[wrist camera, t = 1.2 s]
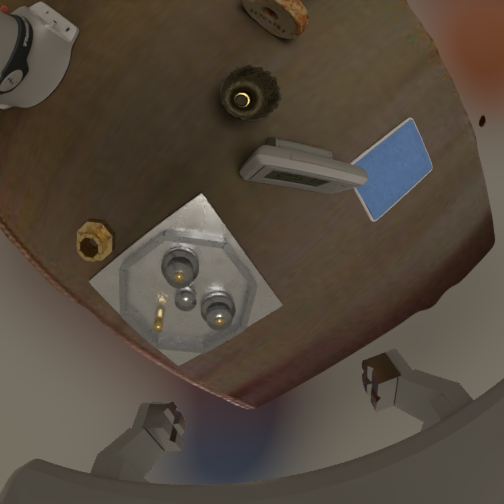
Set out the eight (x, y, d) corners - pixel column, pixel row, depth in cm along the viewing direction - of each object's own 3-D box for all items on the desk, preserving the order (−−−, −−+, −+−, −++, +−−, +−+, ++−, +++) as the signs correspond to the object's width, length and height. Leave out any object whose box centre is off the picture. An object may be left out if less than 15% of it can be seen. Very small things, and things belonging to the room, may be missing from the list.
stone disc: (298, 36, 33) (325, 15, 24) (283, 48, 33) (307, 27, 24) (251, -3, 28) (266, -32, 20) (235, 8, 29) (246, -21, 20)
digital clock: (232, 174, 40) (243, 187, 31) (254, 120, 38) (272, 115, 28) (322, 208, 45) (353, 229, 36) (342, 160, 43) (379, 170, 33)
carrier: (90, 278, 42) (80, 295, 37) (201, 191, 41) (202, 200, 35) (178, 361, 53) (178, 382, 48) (281, 301, 51) (289, 319, 46)
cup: (241, 134, 38) (250, 133, 31) (205, 101, 35) (207, 92, 28) (275, 101, 37) (293, 94, 30) (242, 68, 34) (252, 54, 27)
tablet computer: (370, 222, 49) (374, 224, 48) (339, 168, 44) (343, 170, 42) (430, 167, 47) (434, 168, 46) (407, 115, 41) (412, 115, 40)
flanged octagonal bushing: (73, 234, 39) (64, 243, 35) (97, 211, 38) (89, 219, 35) (97, 263, 42) (89, 274, 38) (122, 241, 41) (115, 251, 37)
